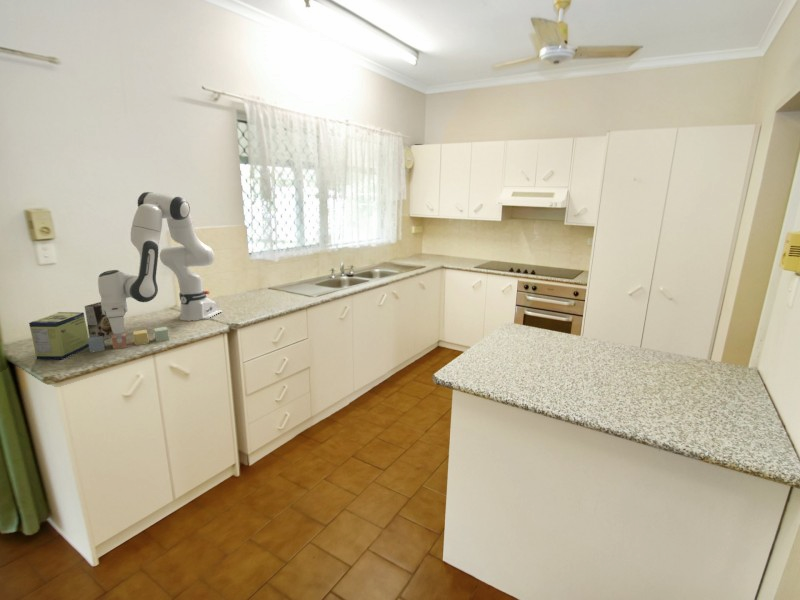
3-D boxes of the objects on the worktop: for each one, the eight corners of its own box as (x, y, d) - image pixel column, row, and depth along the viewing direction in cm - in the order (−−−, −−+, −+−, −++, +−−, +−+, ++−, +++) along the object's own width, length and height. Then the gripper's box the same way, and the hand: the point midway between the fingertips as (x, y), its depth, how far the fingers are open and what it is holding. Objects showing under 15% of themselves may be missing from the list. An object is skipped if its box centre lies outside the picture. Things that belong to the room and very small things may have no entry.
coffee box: (101, 341, 181) (95, 306, 177) (89, 340, 182) (83, 305, 178) (118, 334, 190) (113, 301, 186) (107, 333, 191) (101, 300, 187)
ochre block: (147, 340, 184) (146, 329, 183) (148, 343, 180) (147, 332, 179) (134, 342, 181) (133, 331, 180) (135, 345, 177) (133, 334, 176)
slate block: (104, 346, 175) (102, 335, 174) (104, 350, 171) (102, 339, 170) (90, 349, 172) (88, 338, 171) (90, 352, 168) (87, 341, 167)
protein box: (90, 346, 175) (84, 311, 172) (62, 360, 160) (55, 322, 156) (66, 345, 175) (59, 311, 171) (35, 359, 160) (27, 322, 156)
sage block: (167, 336, 189) (166, 326, 187) (168, 339, 185) (167, 329, 184) (155, 338, 186) (153, 328, 185) (156, 341, 182) (155, 331, 181)
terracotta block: (126, 343, 180) (125, 332, 178) (127, 346, 176) (125, 335, 174) (113, 345, 177) (111, 334, 176) (113, 348, 173) (111, 337, 172)
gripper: (105, 304, 178) (109, 334, 181) (106, 314, 162) (111, 347, 165) (122, 302, 182) (126, 331, 185) (124, 312, 166) (129, 344, 169)
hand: (119, 339), depth 175 cm, fingers open, 8 cm apart
